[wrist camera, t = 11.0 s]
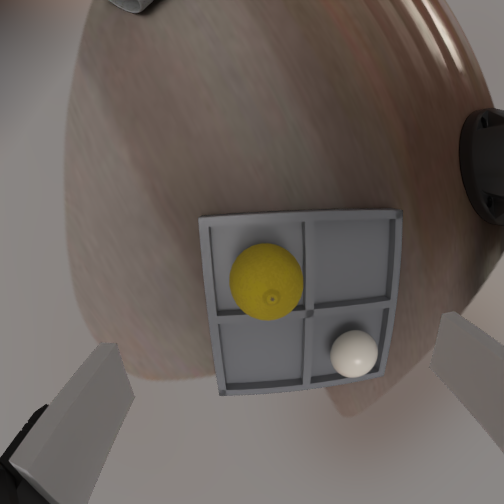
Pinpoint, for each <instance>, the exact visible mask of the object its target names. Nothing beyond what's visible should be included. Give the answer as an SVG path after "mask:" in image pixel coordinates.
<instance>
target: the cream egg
mask: <svg viewBox="0 0 504 504" xmlns="http://www.w3.org/2000/svg"><path fill="white" fill-rule="evenodd" d="M377 357H378V348H377V345H376V342H375V340H374V339H373V338H372V337H371V336H370V335H369V334H368V333H366V332H364V331H360V330H351V331H347V332H345V333H343V334H341V335H340V336H339V337H338V338H337V339H336V340H335V341H334V343H333V345H332V347H331V351H330V360H331V363H332V366H333V368H334V369H335V370H336V371H337V372H338V373H339V374H341V375H342V376H345V377H348V378H357V377H360V376H363V375H365V374H366V373H368V372H369V371H370V370H371V369H372V368H373V366H374V365H375V363H376V361H377Z"/></svg>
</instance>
